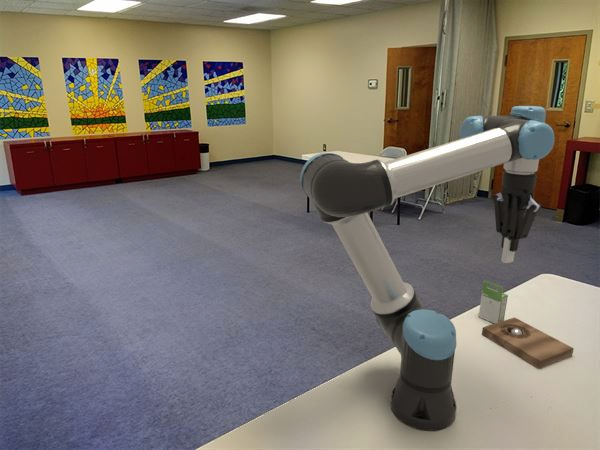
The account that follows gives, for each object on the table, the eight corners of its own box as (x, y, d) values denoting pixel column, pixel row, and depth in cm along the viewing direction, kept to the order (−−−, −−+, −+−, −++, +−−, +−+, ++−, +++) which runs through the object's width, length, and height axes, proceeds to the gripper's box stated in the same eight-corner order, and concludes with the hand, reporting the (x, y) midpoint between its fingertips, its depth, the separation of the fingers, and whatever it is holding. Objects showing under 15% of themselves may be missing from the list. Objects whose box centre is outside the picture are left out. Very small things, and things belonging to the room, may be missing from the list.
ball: (516, 344, 140) (518, 337, 138) (506, 336, 142) (508, 330, 140) (523, 337, 141) (526, 331, 139) (513, 330, 143) (516, 324, 141)
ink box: (504, 322, 151) (509, 284, 147) (497, 325, 149) (502, 287, 145) (485, 313, 156) (489, 277, 152) (478, 317, 154) (482, 280, 150)
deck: (572, 355, 132) (573, 348, 131) (538, 368, 126) (540, 360, 126) (513, 324, 149) (514, 317, 149) (481, 334, 143) (482, 327, 143)
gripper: (554, 174, 109) (539, 267, 116) (508, 166, 120) (497, 251, 127) (532, 177, 106) (518, 273, 113) (487, 168, 117) (477, 255, 124)
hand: (507, 261), depth 120 cm, fingers closed
